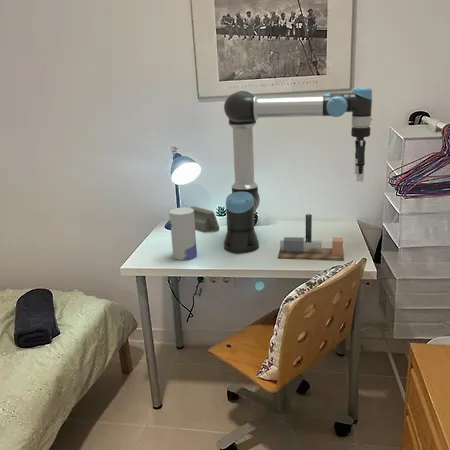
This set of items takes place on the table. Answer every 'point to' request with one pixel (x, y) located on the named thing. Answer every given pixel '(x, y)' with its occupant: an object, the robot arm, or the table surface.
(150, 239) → the table surface
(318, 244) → the sliding bolt
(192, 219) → the container
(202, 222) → the digital clock
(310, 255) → the base board
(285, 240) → the outer sleeve
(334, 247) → the socket block
